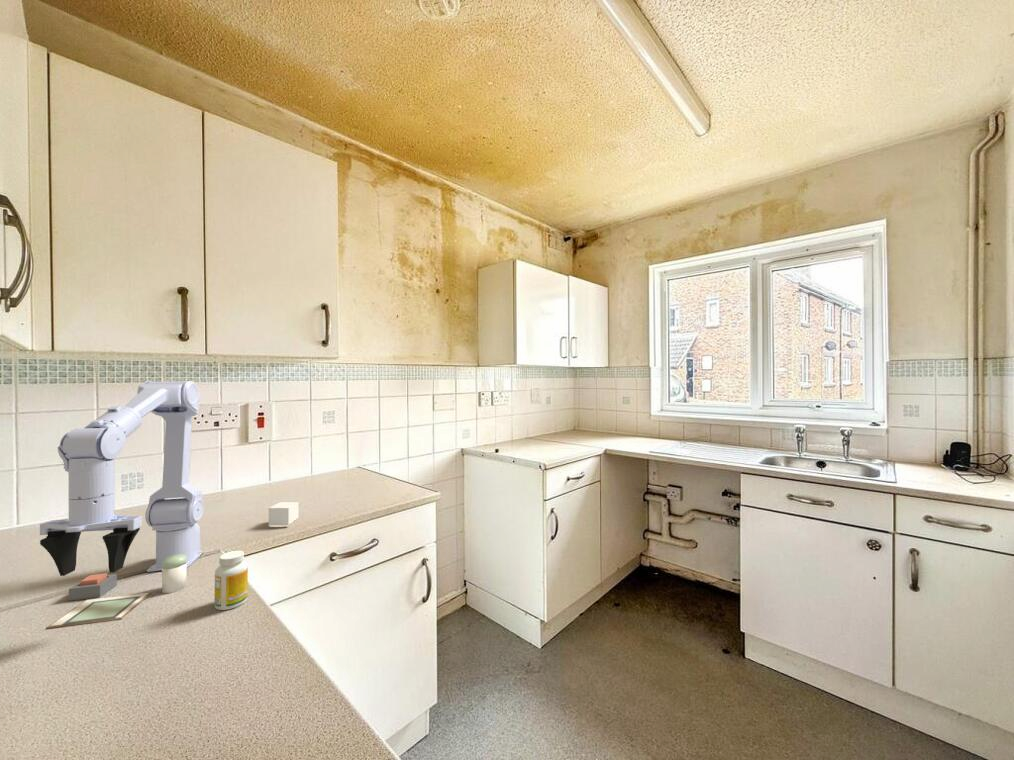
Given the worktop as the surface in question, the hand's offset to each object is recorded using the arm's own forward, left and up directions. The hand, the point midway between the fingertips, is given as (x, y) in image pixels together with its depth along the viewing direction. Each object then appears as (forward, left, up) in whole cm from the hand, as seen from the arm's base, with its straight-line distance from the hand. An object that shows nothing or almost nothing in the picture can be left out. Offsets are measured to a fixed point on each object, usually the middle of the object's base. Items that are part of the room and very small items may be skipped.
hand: (92, 571), depth 72 cm
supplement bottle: (-2, +21, -10) cm, 23 cm away
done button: (-15, -8, -8) cm, 19 cm away
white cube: (-49, +19, -10) cm, 54 cm away
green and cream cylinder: (-12, +7, -10) cm, 17 cm away
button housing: (-15, -8, -10) cm, 20 cm away
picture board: (-6, -2, -10) cm, 12 cm away
